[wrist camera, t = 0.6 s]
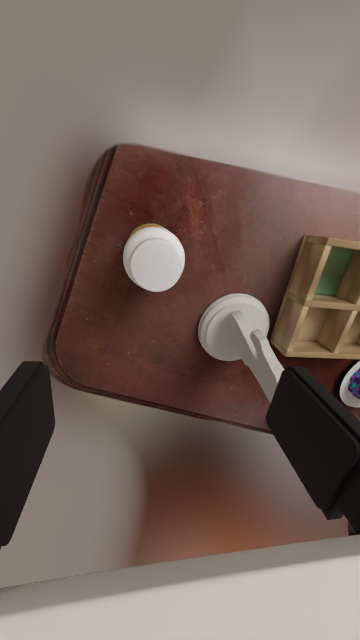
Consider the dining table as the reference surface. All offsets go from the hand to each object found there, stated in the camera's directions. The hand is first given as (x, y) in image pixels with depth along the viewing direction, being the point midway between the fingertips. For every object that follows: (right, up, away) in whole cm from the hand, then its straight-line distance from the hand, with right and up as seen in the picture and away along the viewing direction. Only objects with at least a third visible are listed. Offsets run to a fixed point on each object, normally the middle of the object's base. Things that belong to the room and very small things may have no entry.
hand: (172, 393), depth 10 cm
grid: (+22, +6, +23) cm, 32 cm away
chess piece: (+7, +2, +23) cm, 24 cm away
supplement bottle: (-3, +11, +17) cm, 21 cm away
